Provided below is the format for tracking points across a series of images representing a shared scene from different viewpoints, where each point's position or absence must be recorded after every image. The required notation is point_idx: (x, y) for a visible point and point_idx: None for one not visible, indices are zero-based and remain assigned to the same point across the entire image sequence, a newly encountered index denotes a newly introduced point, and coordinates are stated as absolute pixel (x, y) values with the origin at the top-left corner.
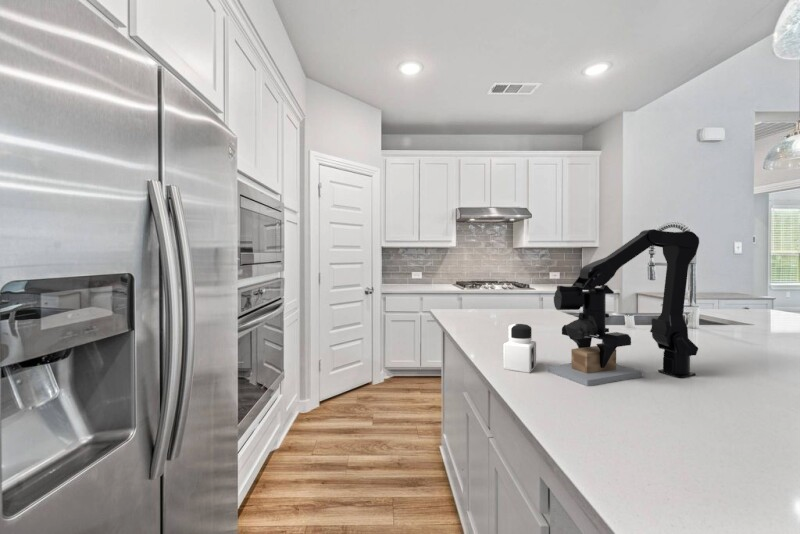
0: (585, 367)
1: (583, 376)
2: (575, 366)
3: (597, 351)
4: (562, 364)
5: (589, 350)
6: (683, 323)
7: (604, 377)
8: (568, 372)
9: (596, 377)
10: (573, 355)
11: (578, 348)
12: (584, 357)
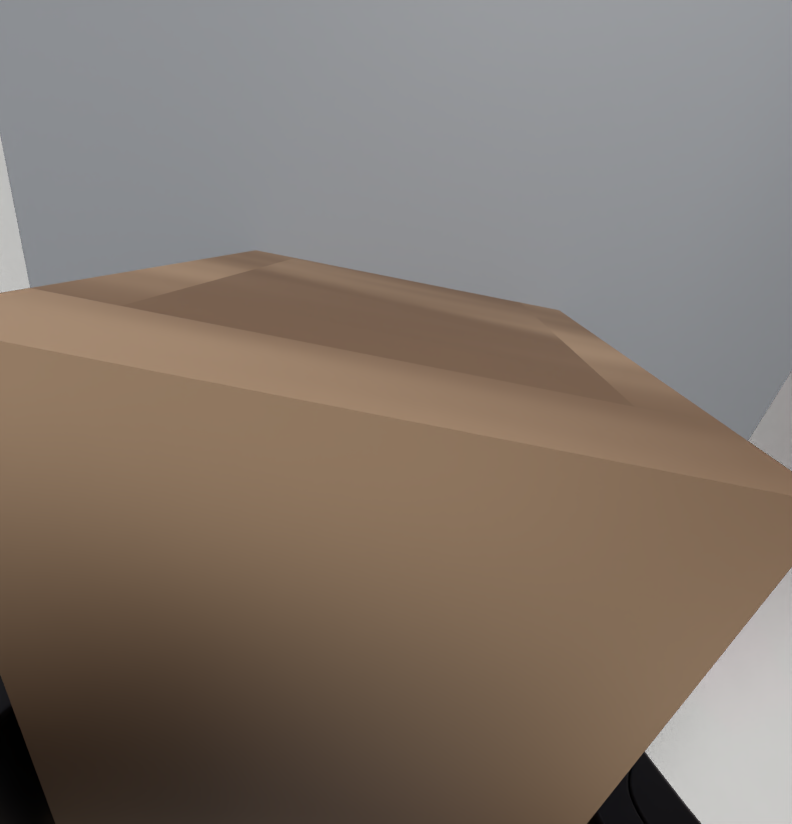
0: (254, 267)
1: (163, 24)
2: (486, 306)
3: (67, 752)
4: (764, 393)
5: (251, 728)
6: None
7: (32, 287)
8: (468, 10)
9: (60, 186)
10: (603, 381)
11: (623, 733)
12: (166, 302)
